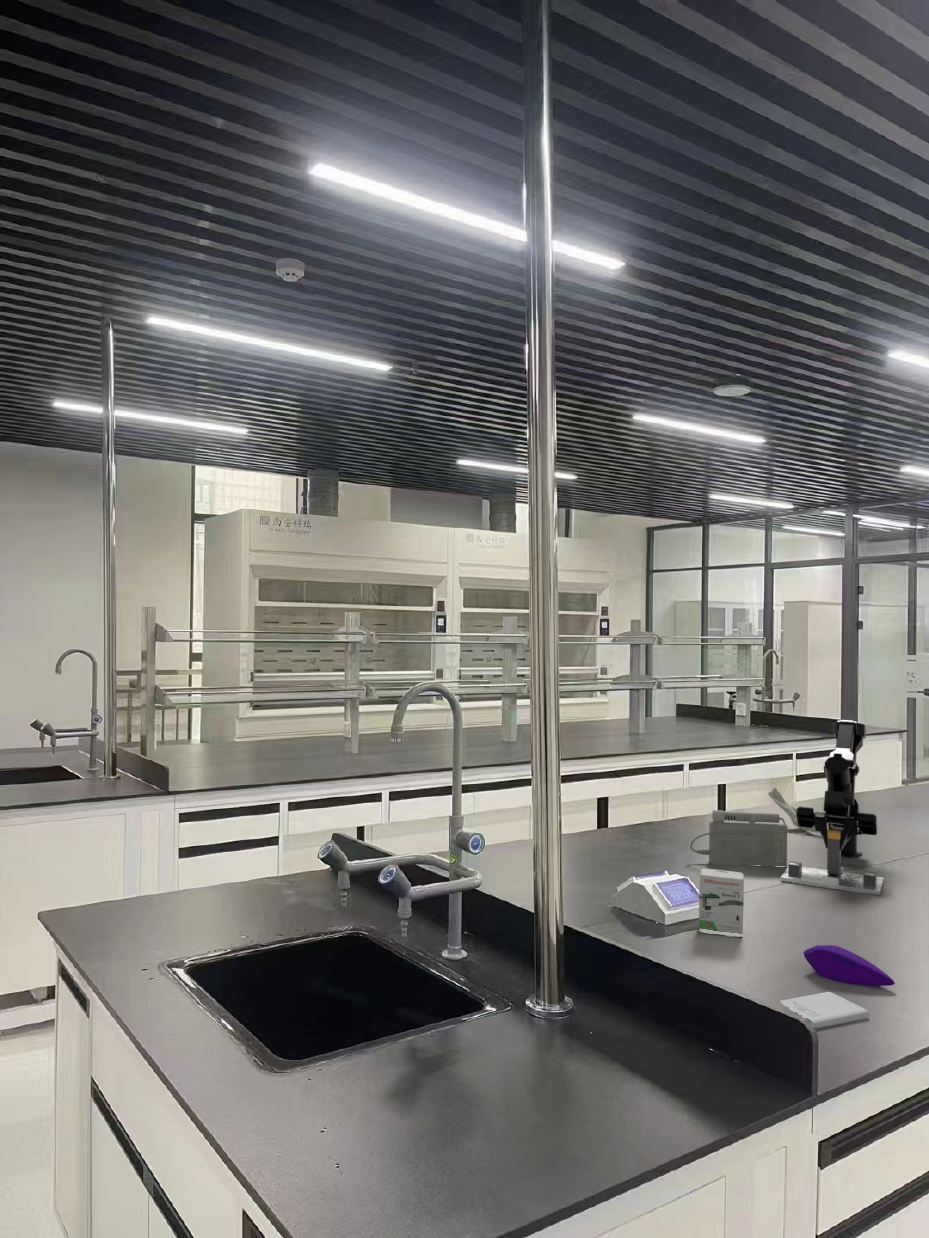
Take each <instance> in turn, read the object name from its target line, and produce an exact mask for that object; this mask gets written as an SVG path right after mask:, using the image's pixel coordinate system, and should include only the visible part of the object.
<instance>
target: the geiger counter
mask: <svg viewBox="0 0 929 1238" xmlns="http://www.w3.org/2000/svg"><path fill="white" fill-rule="evenodd" d="M711 817H712V820H709V825H708V826H709V829H708V831H709V832H707V833H702V834H700V835H698V836H696V837H695V838H694V839H693V840H692V841H691V842H690V844H689V845H690V850H691V851H692V852H694V853H697V855H702V856H703V855H706V856H707V855H708V863H709V864H710V863H711V865H719V866H721V865H722V866H723V865H724V866H725V865H726V866H741V865H761V866H760V867H764V866H787V867H788V824H786V821H785V819H784V818H783V817H780V814H779V813H768V812H767V813H766V812H764V813H763V812H762V813H761V812H741V811H740V812H737V811H725V810H723V809H722V810H721V809H720V810H719V809H718V810H717V809H713V810H712V814H711ZM780 821H782V823H780ZM704 836H705V837H706V836H708V839H709V840H708V843H709V844H708V849H697V850H696V849H694V848H693V844H694V843H695V841H697V840H698V839H700V838H701V837H704Z"/></svg>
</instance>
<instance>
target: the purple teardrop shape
mask: <svg viewBox="0 0 929 1238" xmlns="http://www.w3.org/2000/svg"><path fill="white" fill-rule="evenodd" d="M802 953H803V956H804V958H805V960H806V961H807V962H808V964H809V965H810V967H811V968H812V969H813V971H815V973H816V974H817V975H818V976H820V977H822V978H824V979H827V980H829V981H834V982H839V983H844V984H849V985H855V986H866V987H869V986H870V987H887V986H890V987H891V986H893V985H895V981H894V979H893V978H891V977H890V976H889V975H888V974H887V973H885V972H884V971H883V970H882V969H880V968H879V967H878V966H877V965H875V964H873V963H872V962H870V961H869V960H868V959H866V958H864V957H862V956H861V955H858V954H856V953H854V952H853V951H850V950H848V949H845V948H843V947H840V946H838V945H830V944H827V945H826V944H825V945H823V944H821V945H820V944H819V945H814V946H812V947H810V948H807V949H805V950H804V951H803V952H802Z"/></svg>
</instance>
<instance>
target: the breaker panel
mask: <svg viewBox="0 0 929 1238" xmlns="http://www.w3.org/2000/svg"><path fill="white" fill-rule="evenodd" d="M877 874H878V873H877V872H875V871H868V870H865V871H863V874H861V873H860V874H858V873H851V872H844V867H843V866H841V873H840V875H837V874H829V873H827V869H821V868H815V867H807V866H803V863H802V862H798V861H790V862H789V863H787V867H786V868H785V871H784V872H783V873H782V874H781V876H780V882H782V881H785V882H784V883H789V882H792V883H791V884H796V883H801V884H800V885H803V884H805V885H804V886H810V885H811V887H817V888H825V889H832V890H838V889H840V890H839V891H845V890H846V891H847V892H852V893H860V894H866V895H874V896H879V897H880V896H881V892H882V889H883V885H884V879H885V878H884V877H881V876H878V875H877Z"/></svg>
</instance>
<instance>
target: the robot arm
mask: <svg viewBox="0 0 929 1238" xmlns="http://www.w3.org/2000/svg"><path fill="white" fill-rule="evenodd" d="M832 726H833V728H832V729H833V730H832V735H833V736H834V737H835V739H836V743H835V744H836V745H835V748H834V750H833V751H831V752H829V757H828V758H827V759H826V760H825V761H824V764H823V773H824V774H825V779H826V782H827V789H826V790H825V791H824V798H823V799H824V801H823V811H815V810H814V807H809V806H801V805H799V806H798V807H797V808H796V809H797V811H796V816H797V822H798V826H800V827H803V828H804V827H805V828H812V827H814V825H815V830H816V831H819V833H820V835H821V837H822V840H823V842H824V846H825V849H827V840H828V829H829V830H835V831H841V840H840V850H841V857H845V858H846V857H847V858H854V857H857V856H863V852H860V851H858V835H859V836H861V835H870V836H877V835H878V820H877V819H878V818H877V817H878V816H877V815H876V814H875V813H870V812H860V805H859V803H858V801H857V799H855V788H856V777H857V776H858V775H859V772H860V766H859V764H858V762H857V754H858V752H859V751H860V750H861V749H862V747H863V746H864V739H866V738H867V737H866V735H867V731H866V730H867V727H866V724H863V723H862V722H860V721H859V722H858V721H855V720H852V719H851V720H850V719H840V720H837V721H836V722H833V725H832ZM814 813H815V814H814ZM827 823H828V825H829V827H827Z"/></svg>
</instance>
